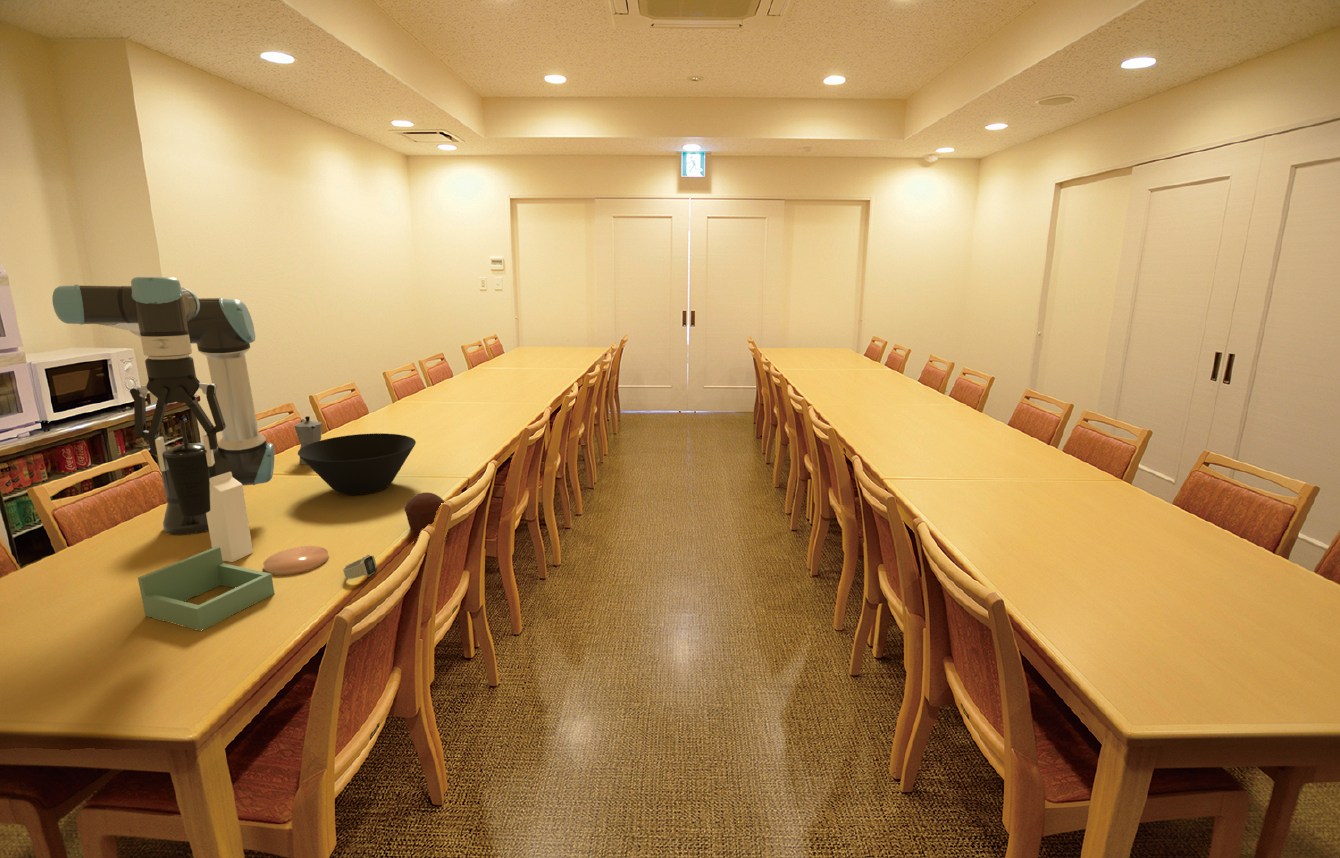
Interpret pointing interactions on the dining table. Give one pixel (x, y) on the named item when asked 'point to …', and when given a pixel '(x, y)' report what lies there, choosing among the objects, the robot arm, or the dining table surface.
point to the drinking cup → (189, 476)
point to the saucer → (295, 560)
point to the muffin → (422, 510)
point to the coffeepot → (308, 433)
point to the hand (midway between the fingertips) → (188, 466)
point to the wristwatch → (360, 567)
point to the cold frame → (201, 590)
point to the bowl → (358, 461)
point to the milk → (228, 518)
